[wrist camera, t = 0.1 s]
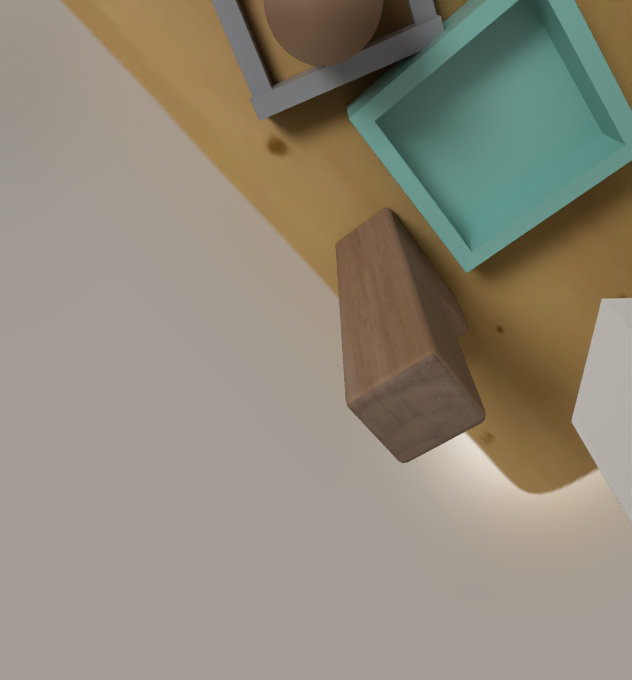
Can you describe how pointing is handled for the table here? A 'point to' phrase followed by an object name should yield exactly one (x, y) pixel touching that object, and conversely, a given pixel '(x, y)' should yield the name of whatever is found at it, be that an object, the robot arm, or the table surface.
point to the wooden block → (402, 342)
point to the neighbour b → (323, 27)
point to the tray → (498, 122)
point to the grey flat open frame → (322, 77)
